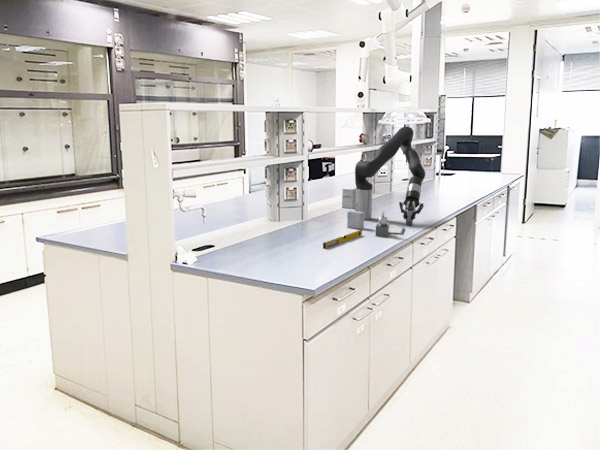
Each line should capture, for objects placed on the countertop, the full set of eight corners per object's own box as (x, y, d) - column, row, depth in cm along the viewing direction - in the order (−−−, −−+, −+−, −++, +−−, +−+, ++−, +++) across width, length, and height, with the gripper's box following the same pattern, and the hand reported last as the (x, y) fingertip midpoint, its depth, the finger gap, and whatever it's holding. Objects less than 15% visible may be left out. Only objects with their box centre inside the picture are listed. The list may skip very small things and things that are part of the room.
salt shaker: (404, 225, 287) (405, 207, 285) (405, 224, 291) (406, 205, 289) (412, 226, 286) (413, 207, 284) (413, 224, 290) (414, 206, 288)
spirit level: (359, 235, 264) (359, 229, 264) (361, 236, 264) (361, 230, 263) (323, 249, 238) (323, 242, 237) (325, 249, 237) (325, 242, 236)
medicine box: (363, 227, 282) (364, 211, 280) (360, 229, 278) (361, 213, 276) (350, 226, 286) (350, 210, 284) (346, 227, 282) (347, 211, 280)
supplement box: (341, 207, 343) (342, 188, 340) (346, 206, 349) (346, 187, 347) (352, 208, 339) (352, 189, 337) (356, 207, 346) (357, 187, 343)
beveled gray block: (375, 236, 262) (376, 212, 260) (377, 233, 268) (377, 210, 266) (387, 236, 261) (388, 213, 258) (388, 234, 266) (389, 210, 264)
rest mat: (380, 233, 269) (380, 232, 268) (383, 227, 282) (383, 226, 282) (402, 234, 266) (402, 233, 265) (404, 229, 279) (404, 227, 279)
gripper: (426, 198, 295) (422, 223, 287) (401, 196, 300) (396, 221, 292) (425, 190, 289) (421, 215, 281) (400, 188, 294) (395, 213, 286)
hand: (408, 218), depth 286 cm, fingers closed on salt shaker, 3 cm apart
